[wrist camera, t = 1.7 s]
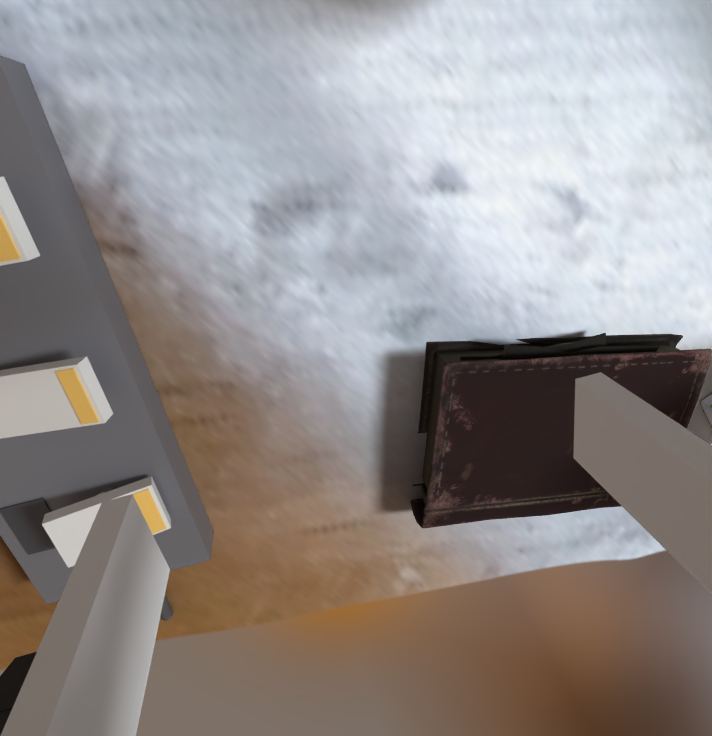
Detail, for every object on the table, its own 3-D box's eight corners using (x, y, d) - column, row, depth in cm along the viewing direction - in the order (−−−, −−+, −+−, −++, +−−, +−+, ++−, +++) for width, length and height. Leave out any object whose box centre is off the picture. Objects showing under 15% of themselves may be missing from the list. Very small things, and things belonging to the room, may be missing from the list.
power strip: (-230, 106, 28) (-300, 100, 24) (24, 64, 29) (-8, 52, 25) (99, 632, 48) (86, 670, 45) (238, 593, 49) (237, 627, 46)
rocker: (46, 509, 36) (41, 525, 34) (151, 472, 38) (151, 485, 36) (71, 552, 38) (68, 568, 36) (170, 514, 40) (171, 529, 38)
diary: (623, 480, 54) (656, 511, 50) (407, 501, 50) (422, 537, 45) (676, 323, 46) (721, 343, 42) (425, 331, 42) (446, 354, 37)
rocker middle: (-17, 370, 32) (-37, 383, 31) (90, 352, 32) (76, 365, 30) (14, 424, 34) (-3, 439, 33) (116, 409, 34) (104, 424, 32)
